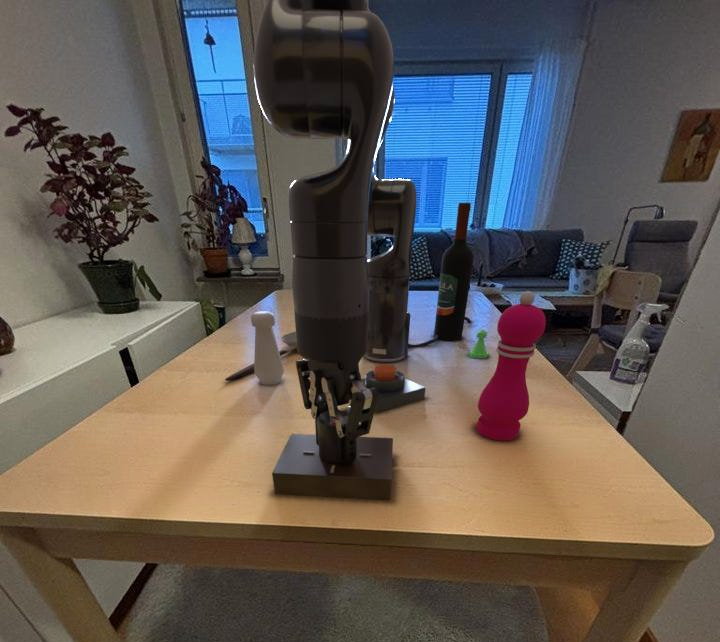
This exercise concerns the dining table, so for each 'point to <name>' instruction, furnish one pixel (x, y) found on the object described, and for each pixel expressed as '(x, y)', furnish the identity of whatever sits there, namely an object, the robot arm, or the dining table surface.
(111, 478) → the dining table surface
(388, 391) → the button block
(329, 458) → the dial
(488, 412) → the pepper mill
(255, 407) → the dining table surface
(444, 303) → the wine bottle
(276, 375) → the salt shaker
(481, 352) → the game piece
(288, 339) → the spoon
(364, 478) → the dial panel
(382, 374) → the button
